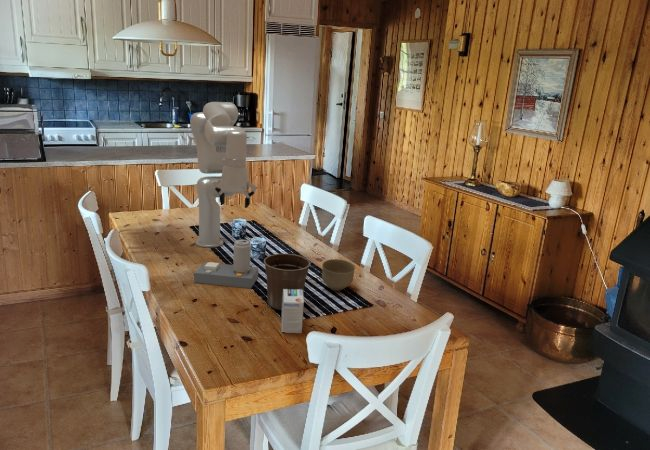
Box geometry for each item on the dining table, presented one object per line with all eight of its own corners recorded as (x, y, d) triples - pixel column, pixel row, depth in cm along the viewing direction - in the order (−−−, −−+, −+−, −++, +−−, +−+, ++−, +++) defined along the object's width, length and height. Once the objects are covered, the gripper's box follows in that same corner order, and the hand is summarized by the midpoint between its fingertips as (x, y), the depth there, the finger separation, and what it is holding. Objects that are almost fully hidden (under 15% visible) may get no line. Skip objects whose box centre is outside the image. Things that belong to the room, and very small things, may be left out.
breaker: (208, 269, 208) (208, 262, 207) (219, 270, 207) (219, 263, 206) (204, 273, 203) (204, 265, 203) (215, 274, 203) (215, 267, 202)
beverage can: (253, 270, 206) (253, 241, 202) (244, 275, 200) (244, 245, 197) (239, 266, 208) (239, 237, 205) (229, 271, 202) (230, 242, 199)
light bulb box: (281, 318, 177) (282, 288, 174) (301, 318, 178) (302, 288, 175) (281, 333, 167) (282, 302, 164) (302, 333, 168) (304, 302, 165)
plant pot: (316, 303, 190) (319, 261, 186) (289, 318, 177) (291, 273, 173) (281, 290, 199) (283, 250, 194) (252, 304, 186) (254, 261, 181)
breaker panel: (204, 271, 212) (204, 260, 211) (258, 276, 210) (258, 266, 209) (194, 282, 201) (194, 271, 199) (250, 288, 199) (251, 277, 198)
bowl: (325, 296, 196) (327, 271, 193) (317, 283, 208) (318, 259, 205) (357, 294, 200) (359, 270, 197) (347, 281, 211) (349, 258, 209)
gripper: (210, 162, 198) (210, 205, 203) (255, 167, 197) (253, 210, 202) (216, 158, 205) (215, 200, 211) (260, 163, 204) (258, 205, 209)
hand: (234, 205), depth 206 cm, fingers open, 9 cm apart
